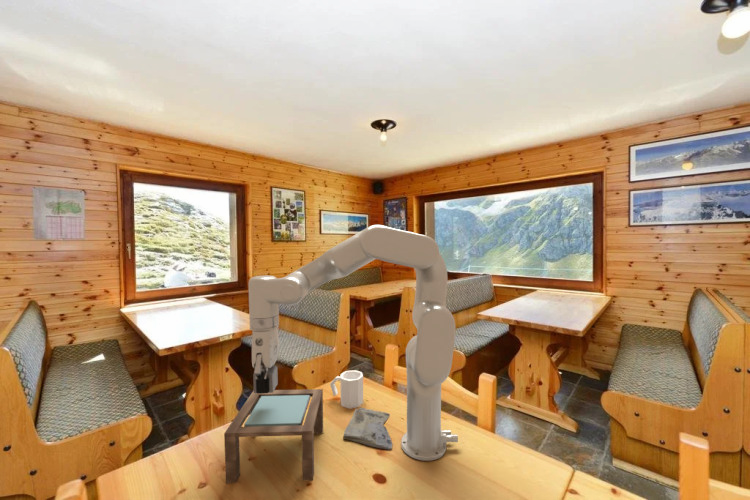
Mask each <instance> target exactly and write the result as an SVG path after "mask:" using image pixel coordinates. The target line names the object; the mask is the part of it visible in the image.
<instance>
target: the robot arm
mask: <svg viewBox="0 0 750 500" xmlns="http://www.w3.org/2000/svg"><path fill="white" fill-rule="evenodd" d="M375 260H378V261H382V262H387V263H390V264H394V265H400V266H405V267H407V268H408V267H410V268H413V269H414V272H415V277H416V278H415V279H416V280H415V294H414V301H413V302H414V303H413V309H412V317H411V319H412V321H413V325H414V326H415V328H416V329H417V330H416V335H414V336H413V337H411V339H410V340H408V342H407V345H406V346H405V347H406V348H405V366H406V432H405V433H404V434H403V436H402V437H401V439H400V440H401V443H400V445H401V448H402V450H403V451H404V453H405V454H406V455H407V456H409V457H411V458H412V459H415V460H418V461H423V462H425V461H426V462H428V461H429V462H430V461H435V460H437V459H441V458H442V457H443V456H444V455H445V453H446V451H447V443H458V442H459V436H458V434H455V433H454V434H452V431H451V429H448V430H447V429H445V430H443V429H442V427H441V426H442V384H443V383H444V382H445V381H446V380H447V379H448V377H449V376H450V373H451V368H452V365H453V364H452V363H453V357H454V355H453V354H454V349H455V348H454V347H455V341H456V340H455V339H456V321H455V318H454V315H453V314H452V312H451V311H450V310H449V309H448V308H447V295H448V270H447V266H446V263H445V261H444V260H445V259H444V258H443V256H442V255H441V253H440V249H439V245H438V243H437V242H436V240H434V239H433V238H432V237H430V236H428V235H425V234H419V233H416V232H412V231H407V230H402V229H399V228H394V227H390V226H387V225H382V224H373V225H370V226H368V227H365V228H364V229H362V230H361V231H359V232H358V233H356V234H354V235H352V236H350V237H349V238H347V239H345V240H344V241H341V242H340V243H338V244H336V245H334V246H333V247H331V248H329V249H328V250H327V251H325V252H324V253H323V254H321V255H320V256H319V257H316V258H315V259H313V260H312V261H310V262H308V263H307V264H305V265H302V267H300V268H298V269H296V270H295V271H293V272H291V273H289V274H287V275H286V276H283V277H276V276H274V275H256V276H252V277H251V278H250V279H249V280H248V310H249V311H248V313H249V314H248V315H249V316H248V317H249V318H248V321H249V330H250V331H252V332H251V333H252V335H251V336H252V337H251V364H252V365H251V366H252V368H253V369H254V371H253V374H255V375H256V393H268V392H269V378H267V377H268V368H271V367H272V366H276V362H277V361H278V359H279V357H280V336H279V327H280V307H279V305H282V306H295V305H297V304H299V303H300V302H301V301H303V299H304V298H305V297H306V295H307V294H309V293H311V292H312V291H314V290H316V289H317V288H319V287H321V286H323V285H324V284H327V283H328V282H331V281H334V280H337V279H342V278H345V277H347V276H349V275H351V274H352V273H355V272H356V271H357V270H359V269H361V268H362V267H364V266H367V265H368V264H369V263H371V262H374V261H375ZM261 369H265V373H264V372H263V371H262V370H261Z"/></svg>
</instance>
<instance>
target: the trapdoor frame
mask: <svg viewBox="0 0 750 500" xmlns="http://www.w3.org/2000/svg"><path fill="white" fill-rule="evenodd" d="M323 393H324V389H323V388H321V389H320V388H317V389H316V388H315V389H314V388H313V389H307V388H306V389H275V390H274V391H273V393H254V390H252V392H251V394H250V395H249V397H248V398H247V400H246V401H245V402H244V404H243V405H242V406H241V408H240V410H239V411H238V413H237V414H236V415H235V417H234V419H233V420H232V421H231V423H230V424H229V426H228V427H227V428H226V430H225V432H224V433H223V434H224V439H223V440H224V462H225V467H224V468H225V483H226V484H232V483H234V484H235V483H237V482H238V480H239V478H240V476H241V462H240V461H241V460H240V459H241V457H240V438H247V437H248V438H249V437H250V438H251V437H252V438H253V437H255V438H258V437H289V436H291V437H292V436H293V437H294V436H301V463H302V464H301V467H302V468H301V469H302V470H301V471H302V473H301V475H302V481H303V482H304V481H314V476H315V441H314V440H315V437H314V435H315V434H316V435H317V434H323V431H324V397H323V396H324V394H323ZM292 395H310V396H311V398H310V401H309V403H310V404H309V405H308V408H307V411H306V414H305V418H304V421H303V422H304V423H303V424H302V425H296V426H255V427H244V426H243V425H244V424H245V422H246V421H247V419H248V417H249V416H250V414H251V413H252V411H253V409H254V408H255V406H256V404H257V403H258V401H259V399H260V398H261V396H292Z"/></svg>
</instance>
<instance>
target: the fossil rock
mask: <svg viewBox="0 0 750 500" xmlns="http://www.w3.org/2000/svg"><path fill="white" fill-rule="evenodd" d="M389 417H390V413H388V412H385V411H380V410H379V411H378V410H374V409H370V408H369V409H368V408H365V407H361V406H359V407H358V408H354V412H353V415H352V417H351V419H350V420H349V422H348V424H347V425H346V427H345V429H344V432H343V437H342V438H343V439H344V440H349V441H351V442H354V443H360V444H363V445H365V446H368V447H372V448H378V449H385V450H387V451H391V450H392V448H393V441H392V438H391V436H390V433H389V432H388V429H387V427H385V426H384V425H385V423H386V422H387V421H388V419H389Z"/></svg>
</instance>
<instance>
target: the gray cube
mask: <svg viewBox="0 0 750 500" xmlns="http://www.w3.org/2000/svg"><path fill="white" fill-rule="evenodd" d="M261 370H262V371H263V372H264V373H265V369H261ZM252 375H253V376H252V378H253V379H252V381H253V391H254V393H256V375H255V374H254V373H253V374H252ZM267 378H269V392H268V393H273V391H274V390H276V388H277V386H278V384H279V383H278V382H279V378H278V366H276V365H275V366H272V367H271V368H268V377H267Z"/></svg>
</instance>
